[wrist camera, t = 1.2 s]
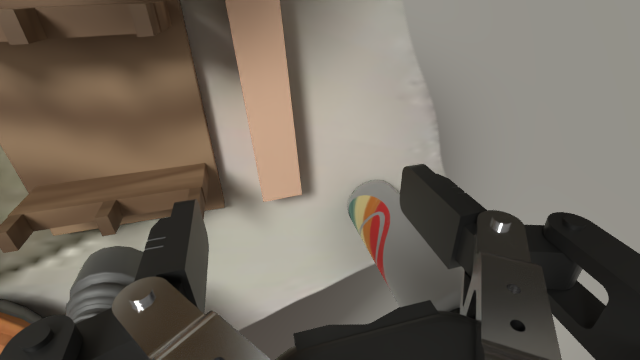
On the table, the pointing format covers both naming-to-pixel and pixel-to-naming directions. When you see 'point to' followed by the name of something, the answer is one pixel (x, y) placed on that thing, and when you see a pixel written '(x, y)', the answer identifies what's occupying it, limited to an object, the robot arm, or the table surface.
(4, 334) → the pie
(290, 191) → the strip
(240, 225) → the table surface
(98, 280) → the candle holder
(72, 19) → the rack
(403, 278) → the lotion bottle
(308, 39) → the table surface
